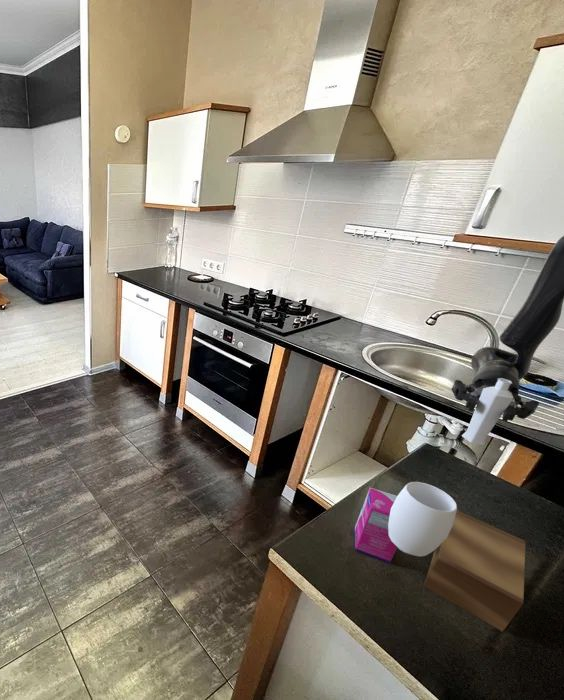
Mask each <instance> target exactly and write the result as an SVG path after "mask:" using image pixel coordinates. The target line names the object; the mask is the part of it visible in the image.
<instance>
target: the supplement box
mask: <svg viewBox="0 0 564 700" xmlns="http://www.w3.org/2000/svg"><path fill="white" fill-rule="evenodd" d="M397 496H398V495H396V494H392V493H389V492H386V491H384V490H383V491H382V490H380V489H376V488H374V487H369V489H368V491H367V494H366V496H365V499H364V502H363V505H362V507H361V510H360V511H359V512H360V513H359V515H358V518H357V521H356V523H355V526H354V530H353V531H354V540H355V541H354V543H355V544H354V545H355V546H354V547H355V548H354V550H355V551H356V552H359V553H362V554H365V555H367V556H370V557H372V558H375V559H377V560H380V561H382V562H385V563H387V564H391V563H392V560H393V558H394V555H395V554H396V551H397V549H398V547H397V546H396V545H395V544H394V543H393V542H392V541H391V539H390V537H389V532H388V523H389V516H390V511H391V507H392V505H393V503H394V502H395V500H396V498H397Z"/></svg>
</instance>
